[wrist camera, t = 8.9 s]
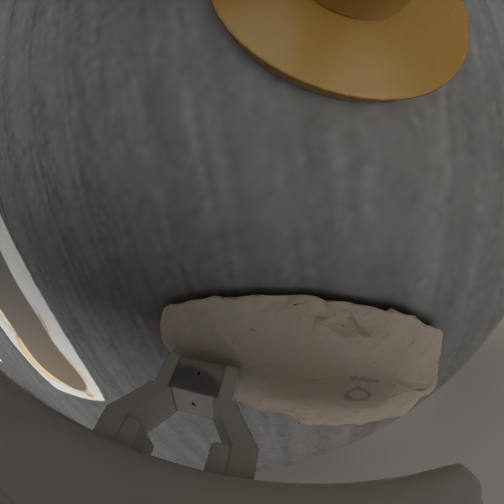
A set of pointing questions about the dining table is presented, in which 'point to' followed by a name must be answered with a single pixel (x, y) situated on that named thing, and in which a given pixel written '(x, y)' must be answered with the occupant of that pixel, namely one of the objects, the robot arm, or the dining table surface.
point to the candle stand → (353, 44)
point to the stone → (311, 354)
